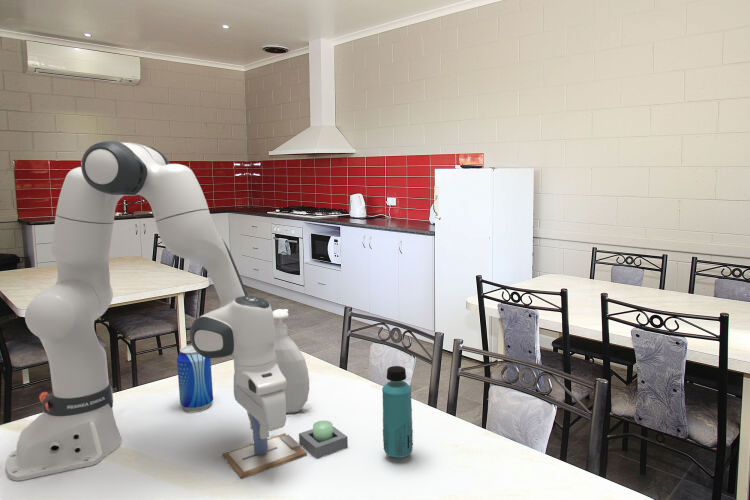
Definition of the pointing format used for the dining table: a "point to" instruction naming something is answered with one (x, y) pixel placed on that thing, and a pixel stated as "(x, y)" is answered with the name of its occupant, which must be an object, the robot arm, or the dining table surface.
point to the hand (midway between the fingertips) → (259, 433)
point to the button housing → (323, 443)
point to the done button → (322, 431)
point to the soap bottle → (290, 365)
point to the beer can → (194, 380)
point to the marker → (258, 439)
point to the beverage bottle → (397, 414)
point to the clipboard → (264, 456)
